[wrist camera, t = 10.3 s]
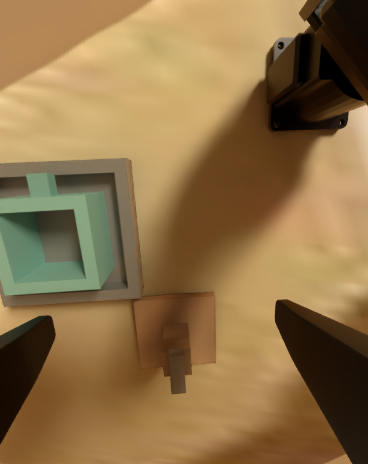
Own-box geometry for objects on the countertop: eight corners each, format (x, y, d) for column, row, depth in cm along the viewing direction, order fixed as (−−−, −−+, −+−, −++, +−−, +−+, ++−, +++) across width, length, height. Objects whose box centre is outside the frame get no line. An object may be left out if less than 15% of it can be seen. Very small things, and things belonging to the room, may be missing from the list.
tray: (130, 160, 18) (125, 158, 16) (143, 287, 21) (140, 298, 19) (-14, 166, 18) (-36, 165, 16) (19, 295, 21) (4, 307, 19)
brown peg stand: (213, 291, 22) (226, 326, 17) (214, 357, 24) (225, 406, 19) (134, 296, 22) (122, 334, 16) (141, 362, 24) (133, 413, 18)
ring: (114, 267, 20) (100, 289, 16) (37, 272, 20) (4, 295, 16) (100, 171, 18) (81, 170, 14) (15, 176, 18) (-29, 175, 14)
